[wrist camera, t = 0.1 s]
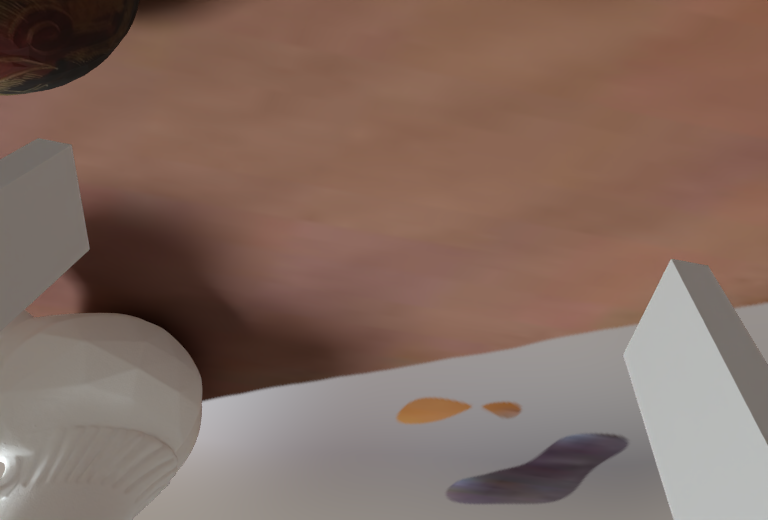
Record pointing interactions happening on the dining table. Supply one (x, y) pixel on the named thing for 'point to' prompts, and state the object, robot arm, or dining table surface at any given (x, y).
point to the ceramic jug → (57, 40)
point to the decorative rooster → (92, 415)
